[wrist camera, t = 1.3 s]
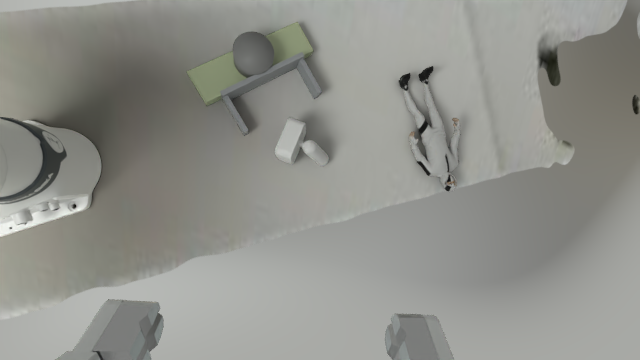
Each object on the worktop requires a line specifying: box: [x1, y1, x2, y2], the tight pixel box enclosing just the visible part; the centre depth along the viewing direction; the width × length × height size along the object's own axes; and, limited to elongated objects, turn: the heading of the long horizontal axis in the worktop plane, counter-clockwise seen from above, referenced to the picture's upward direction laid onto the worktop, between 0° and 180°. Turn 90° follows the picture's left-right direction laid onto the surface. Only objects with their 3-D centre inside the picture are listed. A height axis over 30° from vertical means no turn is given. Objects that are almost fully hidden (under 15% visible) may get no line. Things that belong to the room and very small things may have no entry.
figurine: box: [399, 66, 461, 191], centre depth 72 cm, size 13×6×30 cm
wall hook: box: [275, 117, 329, 166], centre depth 63 cm, size 8×10×10 cm
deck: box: [187, 22, 322, 136], centre depth 62 cm, size 26×16×6 cm, turn 121°
